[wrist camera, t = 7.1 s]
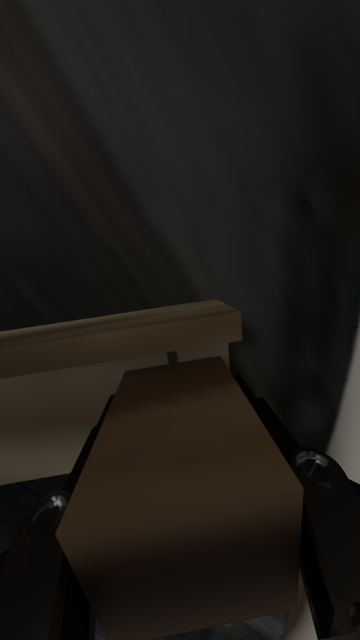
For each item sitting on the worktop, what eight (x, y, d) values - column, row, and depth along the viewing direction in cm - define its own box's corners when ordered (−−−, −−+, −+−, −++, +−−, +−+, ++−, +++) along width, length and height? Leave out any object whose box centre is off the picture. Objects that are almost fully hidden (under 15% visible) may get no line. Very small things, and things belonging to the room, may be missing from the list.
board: (-145, 353, 10) (-307, 396, 6) (217, 298, 10) (240, 311, 7) (-63, 474, 12) (-151, 551, 9) (227, 424, 13) (249, 479, 9)
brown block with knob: (124, 371, 9) (54, 534, 4) (220, 355, 9) (303, 488, 4) (148, 463, 11) (126, 677, 5) (228, 449, 11) (294, 642, 5)
